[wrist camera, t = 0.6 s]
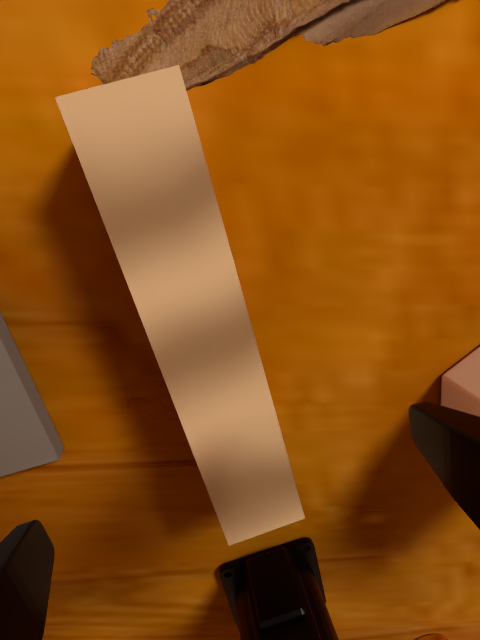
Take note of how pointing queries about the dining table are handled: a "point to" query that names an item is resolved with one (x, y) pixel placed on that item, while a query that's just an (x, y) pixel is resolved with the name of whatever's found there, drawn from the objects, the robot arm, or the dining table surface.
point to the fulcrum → (22, 414)
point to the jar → (463, 385)
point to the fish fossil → (241, 33)
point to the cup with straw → (433, 637)
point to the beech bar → (186, 289)
